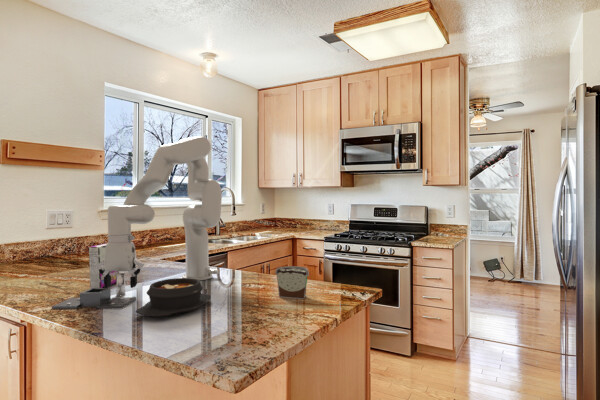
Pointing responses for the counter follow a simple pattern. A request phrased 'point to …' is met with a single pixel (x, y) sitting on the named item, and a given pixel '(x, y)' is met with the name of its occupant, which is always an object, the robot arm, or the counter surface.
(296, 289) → the food container
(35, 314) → the counter surface
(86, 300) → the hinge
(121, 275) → the pin
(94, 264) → the candy bar box
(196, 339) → the counter surface
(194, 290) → the casserole
